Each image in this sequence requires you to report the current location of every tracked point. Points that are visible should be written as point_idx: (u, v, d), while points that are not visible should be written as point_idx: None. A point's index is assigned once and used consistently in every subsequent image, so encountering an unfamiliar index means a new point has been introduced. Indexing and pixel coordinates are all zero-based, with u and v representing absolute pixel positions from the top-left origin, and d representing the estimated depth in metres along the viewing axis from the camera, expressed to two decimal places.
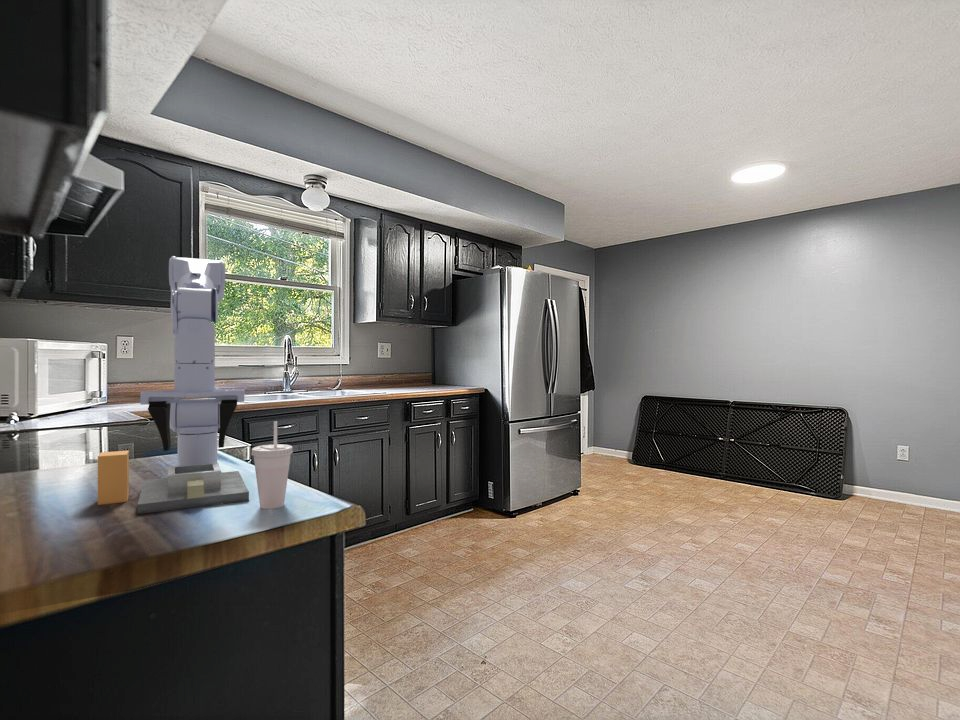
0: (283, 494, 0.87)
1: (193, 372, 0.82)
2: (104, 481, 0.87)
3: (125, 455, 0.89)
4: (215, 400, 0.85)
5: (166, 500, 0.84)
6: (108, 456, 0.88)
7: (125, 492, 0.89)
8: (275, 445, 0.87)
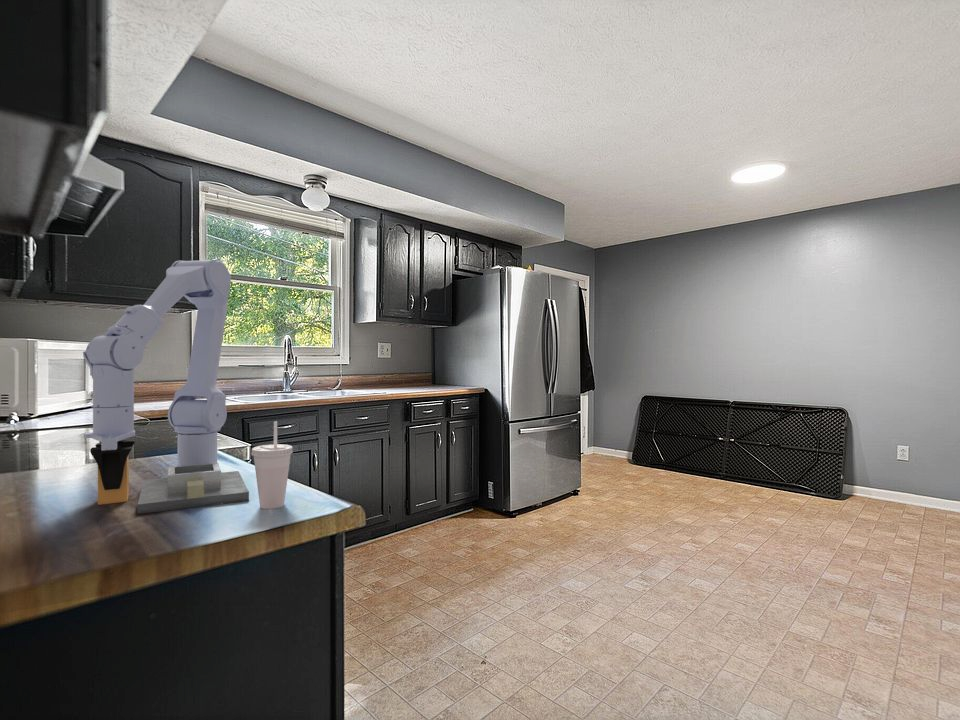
0: (283, 494, 0.87)
1: (93, 415, 0.88)
2: None
3: None
4: None
5: (166, 500, 0.84)
6: None
7: (125, 492, 0.89)
8: (275, 445, 0.87)
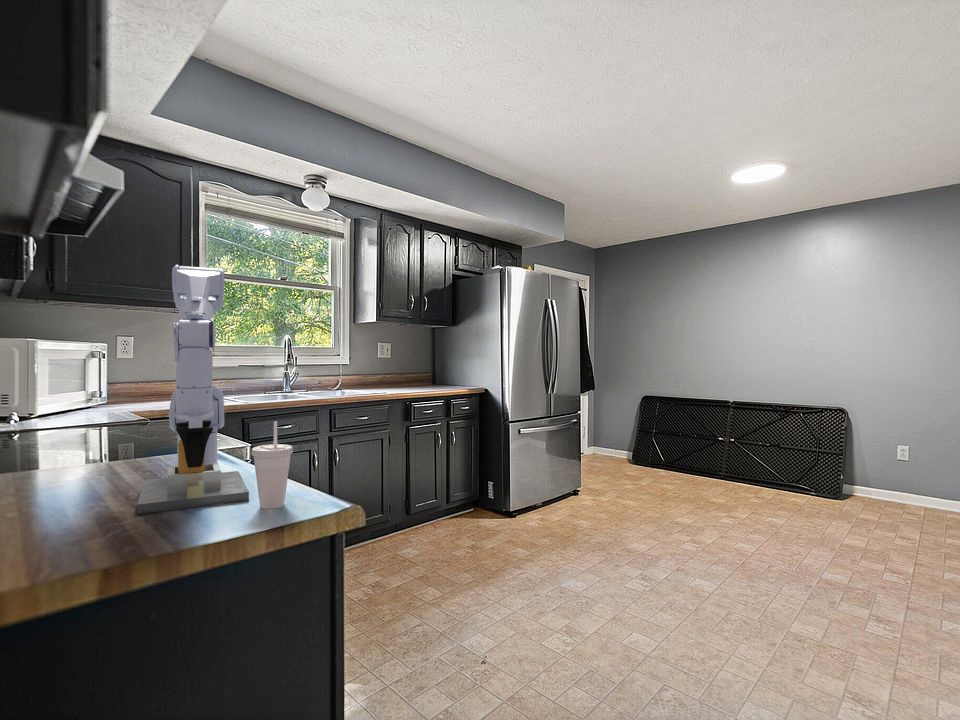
0: (283, 494, 0.87)
1: (176, 395, 0.92)
2: (184, 467, 0.91)
3: None
4: None
5: (166, 500, 0.84)
6: None
7: None
8: (275, 445, 0.87)
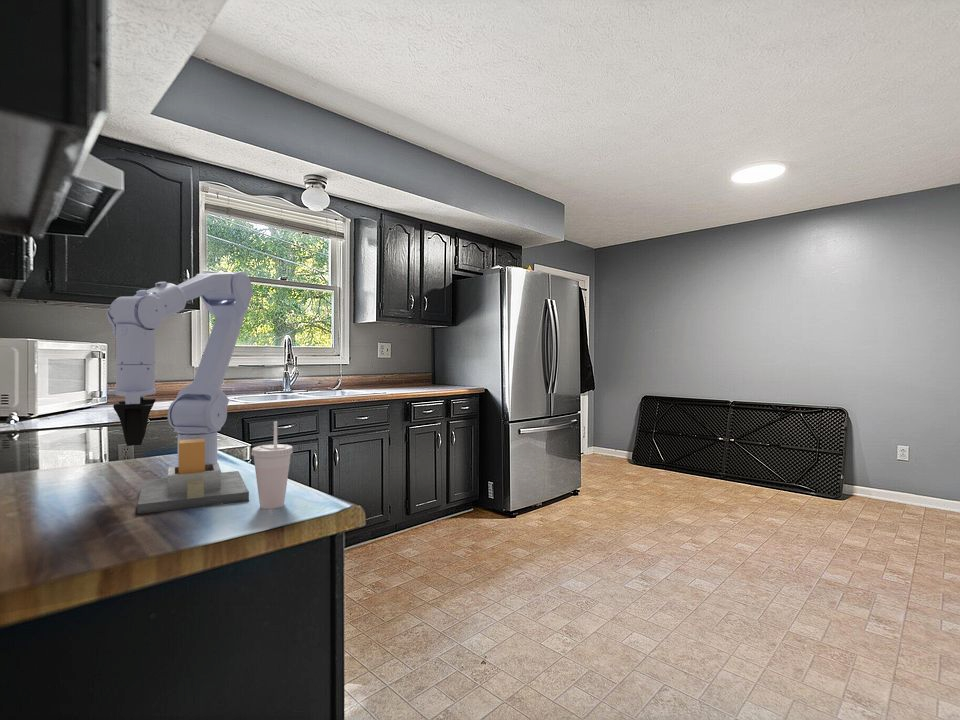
0: (283, 494, 0.87)
1: (116, 372, 0.91)
2: (185, 467, 0.91)
3: (203, 442, 0.93)
4: None
5: (166, 500, 0.84)
6: (188, 443, 0.92)
7: None
8: (275, 445, 0.87)
